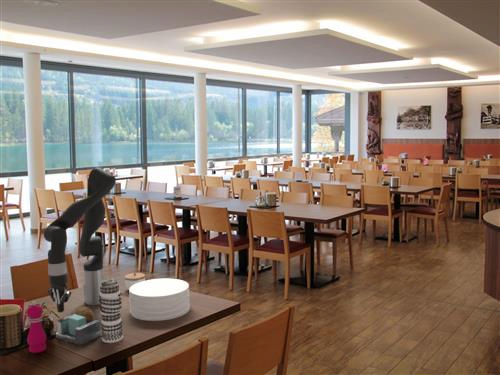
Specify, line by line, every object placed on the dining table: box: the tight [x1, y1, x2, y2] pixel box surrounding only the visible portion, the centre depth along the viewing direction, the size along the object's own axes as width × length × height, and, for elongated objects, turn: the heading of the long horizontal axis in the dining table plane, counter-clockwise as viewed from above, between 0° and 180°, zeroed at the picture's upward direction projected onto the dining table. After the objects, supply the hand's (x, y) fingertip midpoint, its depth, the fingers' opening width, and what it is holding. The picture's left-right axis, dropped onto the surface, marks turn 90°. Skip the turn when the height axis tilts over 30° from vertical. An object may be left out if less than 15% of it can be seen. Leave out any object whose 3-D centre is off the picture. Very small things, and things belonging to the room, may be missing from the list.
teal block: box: [68, 315, 87, 335], centre depth 231 cm, size 6×4×7 cm, turn 57°
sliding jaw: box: [56, 314, 78, 334], centre depth 234 cm, size 2×9×6 cm, turn 147°
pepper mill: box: [26, 300, 48, 354], centre depth 218 cm, size 7×7×20 cm
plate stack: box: [128, 277, 191, 322], centre depth 261 cm, size 28×28×12 cm
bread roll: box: [70, 305, 94, 323], centre depth 251 cm, size 10×10×8 cm
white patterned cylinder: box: [98, 278, 124, 344], centre depth 227 cm, size 9×9×25 cm
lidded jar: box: [124, 271, 146, 290], centre depth 294 cm, size 11×11×9 cm
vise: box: [55, 319, 102, 346], centre depth 231 cm, size 15×11×6 cm
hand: (60, 311), depth 236 cm, fingers closed
